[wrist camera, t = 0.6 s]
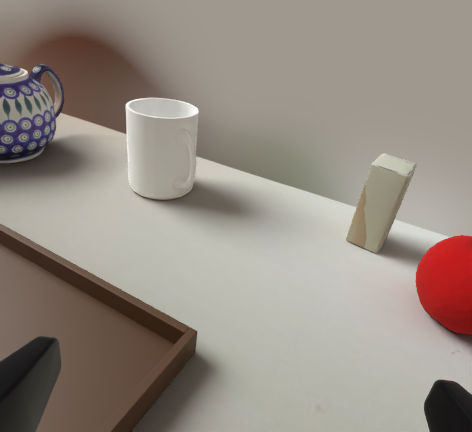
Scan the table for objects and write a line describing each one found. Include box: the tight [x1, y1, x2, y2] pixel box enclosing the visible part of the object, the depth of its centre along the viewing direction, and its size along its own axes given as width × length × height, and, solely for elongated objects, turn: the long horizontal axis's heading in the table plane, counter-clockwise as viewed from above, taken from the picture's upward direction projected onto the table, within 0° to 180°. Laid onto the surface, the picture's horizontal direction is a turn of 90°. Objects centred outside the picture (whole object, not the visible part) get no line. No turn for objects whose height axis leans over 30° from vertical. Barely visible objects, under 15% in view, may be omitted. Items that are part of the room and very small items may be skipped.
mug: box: [126, 98, 199, 200], centre depth 50 cm, size 10×12×12 cm
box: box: [346, 154, 417, 253], centre depth 45 cm, size 5×4×11 cm
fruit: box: [416, 235, 472, 335], centre depth 35 cm, size 9×9×10 cm
